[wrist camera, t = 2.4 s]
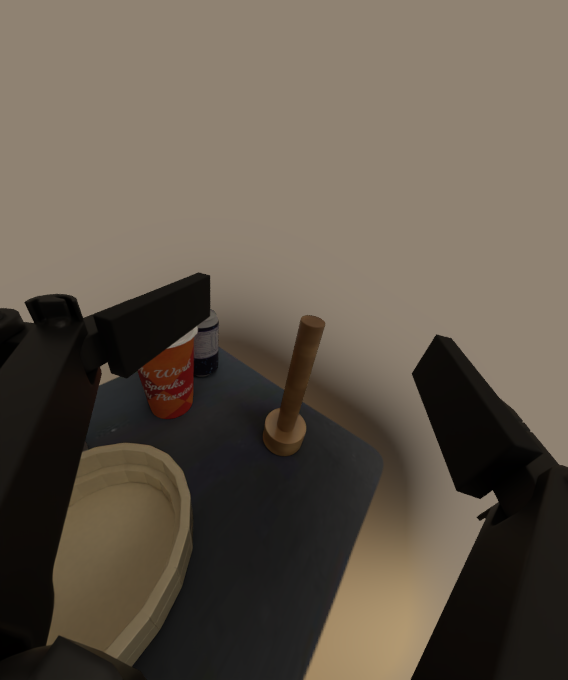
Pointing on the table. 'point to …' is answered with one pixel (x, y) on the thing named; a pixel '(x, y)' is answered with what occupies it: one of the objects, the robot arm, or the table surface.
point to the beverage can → (206, 346)
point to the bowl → (122, 549)
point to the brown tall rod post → (294, 392)
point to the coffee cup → (170, 378)
